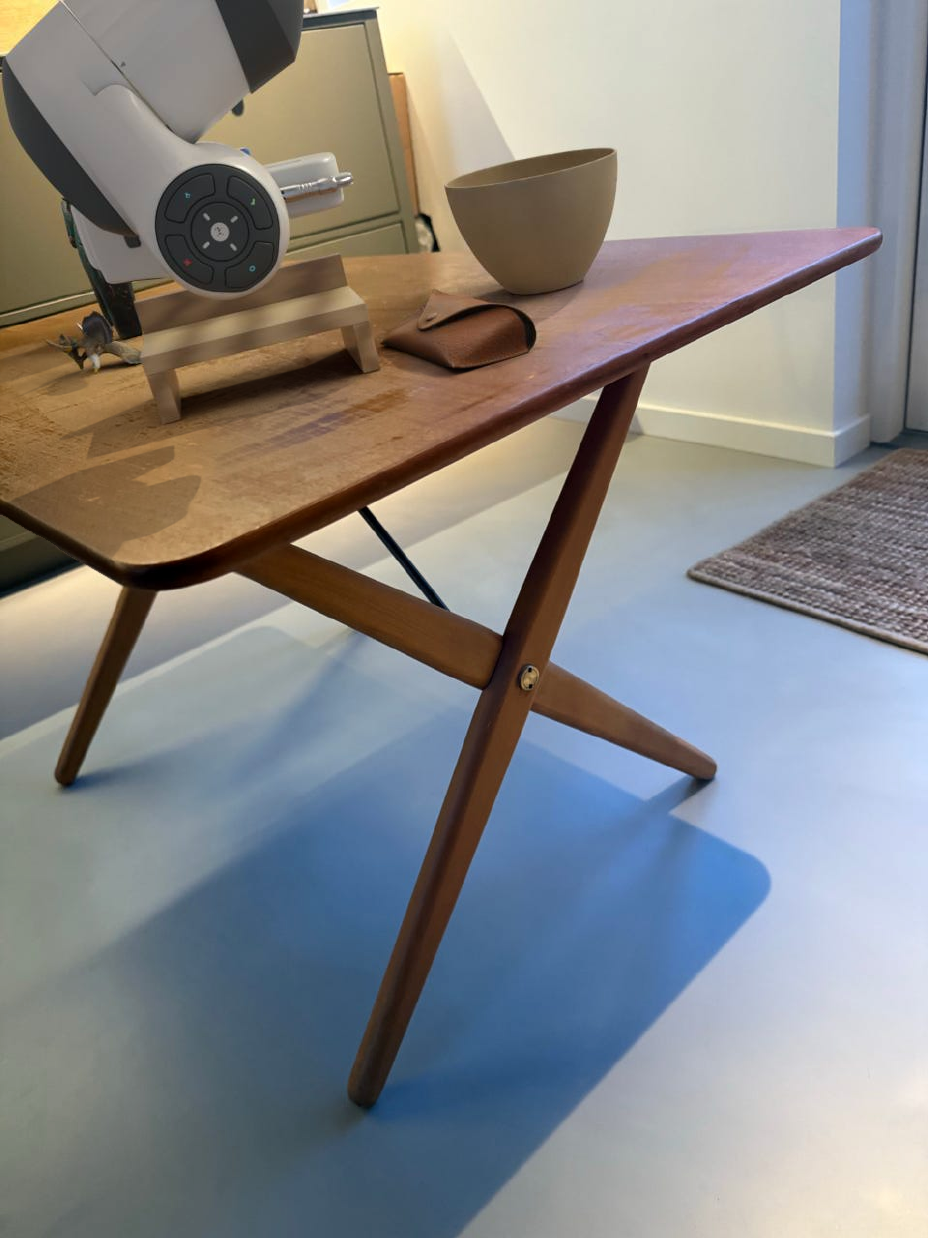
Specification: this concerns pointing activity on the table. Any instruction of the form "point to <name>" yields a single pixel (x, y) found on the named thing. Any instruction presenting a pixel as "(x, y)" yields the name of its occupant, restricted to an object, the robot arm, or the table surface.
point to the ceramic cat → (106, 287)
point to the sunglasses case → (463, 331)
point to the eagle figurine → (96, 343)
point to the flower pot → (537, 216)
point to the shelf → (250, 324)
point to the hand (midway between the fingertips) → (209, 198)
